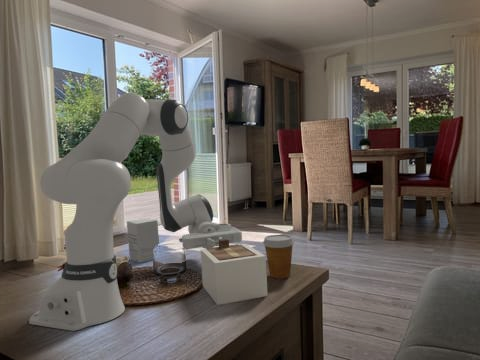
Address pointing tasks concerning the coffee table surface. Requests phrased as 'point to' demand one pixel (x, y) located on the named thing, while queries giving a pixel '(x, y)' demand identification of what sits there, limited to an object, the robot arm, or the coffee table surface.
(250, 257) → the box
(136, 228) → the supplement box
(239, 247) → the lid
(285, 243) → the disposable coffee cup
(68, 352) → the coffee table surface
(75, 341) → the coffee table surface
